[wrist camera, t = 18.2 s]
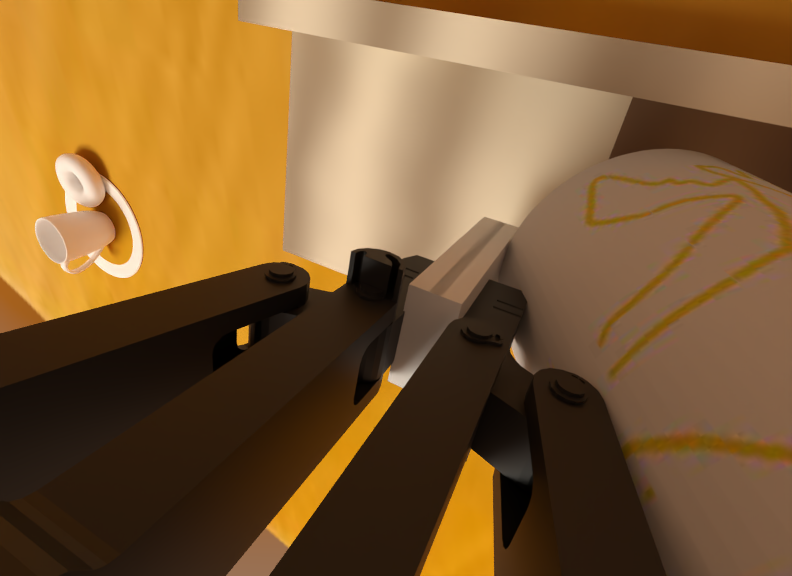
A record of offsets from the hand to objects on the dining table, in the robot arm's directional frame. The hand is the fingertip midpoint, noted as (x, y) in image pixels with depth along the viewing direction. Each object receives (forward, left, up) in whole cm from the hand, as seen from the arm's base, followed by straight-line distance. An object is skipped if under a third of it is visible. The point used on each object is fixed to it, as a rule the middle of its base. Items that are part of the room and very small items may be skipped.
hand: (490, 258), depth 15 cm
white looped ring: (-25, -7, -5) cm, 27 cm away
